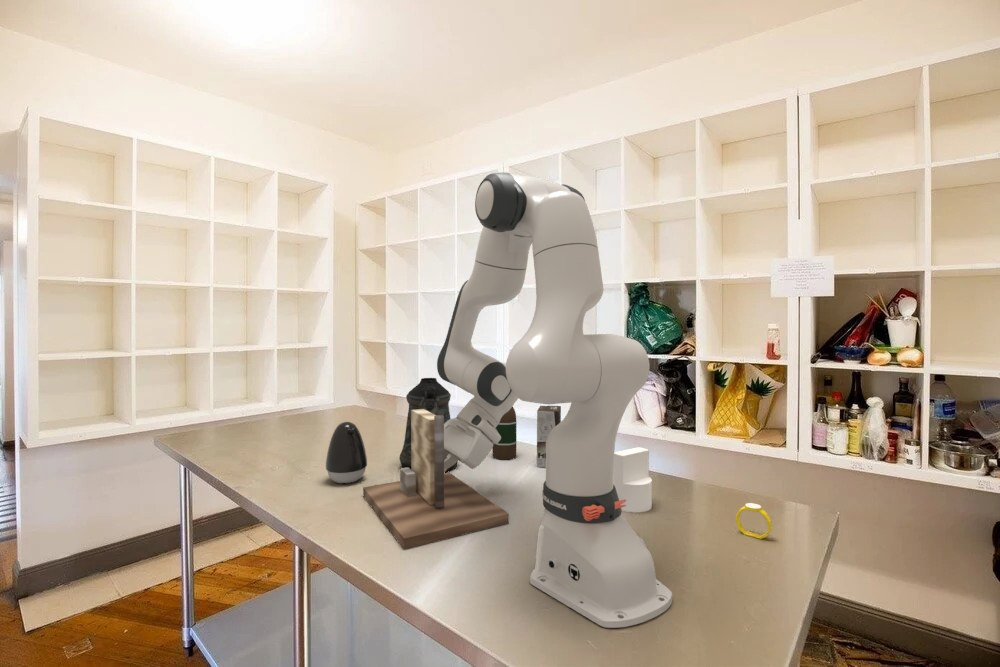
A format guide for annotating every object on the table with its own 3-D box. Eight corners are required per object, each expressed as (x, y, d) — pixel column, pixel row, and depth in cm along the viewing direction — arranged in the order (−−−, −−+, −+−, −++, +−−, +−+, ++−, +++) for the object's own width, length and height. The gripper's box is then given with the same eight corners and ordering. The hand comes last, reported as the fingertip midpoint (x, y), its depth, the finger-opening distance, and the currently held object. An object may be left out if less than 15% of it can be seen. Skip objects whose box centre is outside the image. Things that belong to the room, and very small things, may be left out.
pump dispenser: (333, 490, 115) (332, 428, 114) (320, 478, 123) (320, 420, 123) (373, 481, 121) (373, 422, 120) (359, 471, 129) (358, 416, 129)
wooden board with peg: (508, 523, 96) (508, 489, 96) (404, 549, 85) (403, 511, 85) (449, 480, 122) (449, 453, 122) (363, 495, 111) (363, 466, 111)
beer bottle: (521, 458, 141) (521, 378, 140) (497, 461, 138) (497, 379, 137) (511, 452, 148) (511, 375, 147) (487, 454, 145) (487, 376, 145)
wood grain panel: (447, 506, 99) (447, 416, 98) (434, 509, 98) (433, 417, 97) (423, 483, 113) (423, 404, 112) (411, 485, 111) (411, 405, 111)
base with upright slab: (632, 515, 100) (633, 459, 100) (601, 502, 107) (602, 449, 107) (660, 506, 105) (660, 453, 105) (628, 494, 112) (629, 444, 112)
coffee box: (559, 468, 132) (559, 411, 131) (536, 467, 133) (536, 410, 132) (561, 459, 140) (561, 405, 140) (539, 458, 142) (540, 404, 141)
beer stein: (440, 454, 145) (439, 373, 145) (475, 470, 130) (475, 380, 129) (389, 464, 135) (389, 377, 134) (422, 483, 120) (421, 385, 119)
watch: (735, 535, 91) (733, 504, 92) (739, 530, 94) (737, 500, 94) (770, 542, 88) (767, 510, 88) (773, 537, 90) (771, 506, 90)
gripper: (449, 406, 119) (412, 450, 114) (487, 422, 101) (445, 475, 97) (465, 422, 121) (429, 466, 117) (505, 440, 103) (464, 492, 99)
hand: (436, 470), depth 107 cm, fingers closed
